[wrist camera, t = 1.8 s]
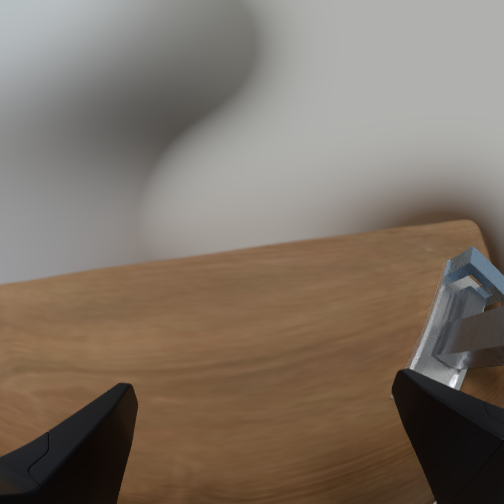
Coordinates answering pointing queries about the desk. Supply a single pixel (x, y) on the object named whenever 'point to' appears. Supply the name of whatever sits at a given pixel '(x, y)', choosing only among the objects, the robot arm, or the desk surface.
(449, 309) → the blue gray railed fixture
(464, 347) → the tall gray pillar
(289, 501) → the desk surface
